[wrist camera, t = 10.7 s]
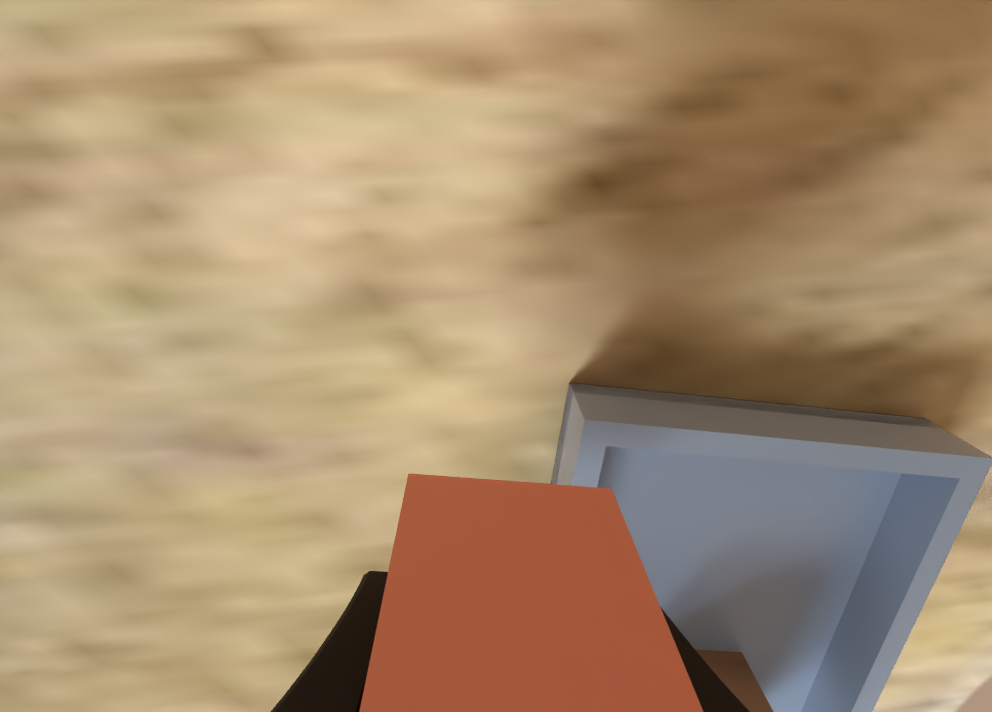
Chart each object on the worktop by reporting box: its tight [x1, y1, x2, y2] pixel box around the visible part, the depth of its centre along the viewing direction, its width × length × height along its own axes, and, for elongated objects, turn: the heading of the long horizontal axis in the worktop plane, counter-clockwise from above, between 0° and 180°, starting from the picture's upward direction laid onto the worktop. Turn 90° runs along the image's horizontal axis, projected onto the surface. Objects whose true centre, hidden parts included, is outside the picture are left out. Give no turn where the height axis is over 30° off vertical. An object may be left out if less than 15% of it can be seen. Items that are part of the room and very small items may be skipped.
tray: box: [551, 383, 992, 712], centre depth 21 cm, size 18×13×3 cm
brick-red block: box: [359, 474, 703, 712], centre depth 10 cm, size 4×4×6 cm
